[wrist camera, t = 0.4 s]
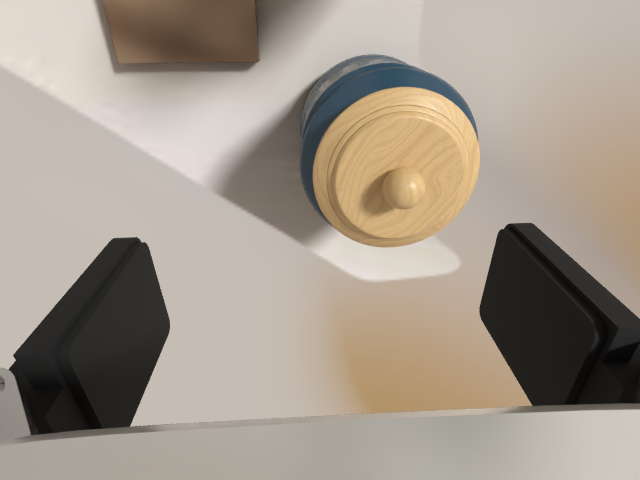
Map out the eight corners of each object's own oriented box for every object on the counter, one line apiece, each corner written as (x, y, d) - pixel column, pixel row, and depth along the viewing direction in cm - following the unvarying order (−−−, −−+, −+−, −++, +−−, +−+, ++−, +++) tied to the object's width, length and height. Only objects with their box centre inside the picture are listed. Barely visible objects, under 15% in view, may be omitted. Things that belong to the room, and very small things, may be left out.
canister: (345, 207, 43) (370, 313, 27) (273, 108, 37) (254, 173, 22) (452, 140, 39) (548, 218, 24) (390, 20, 34) (465, 23, 18)
